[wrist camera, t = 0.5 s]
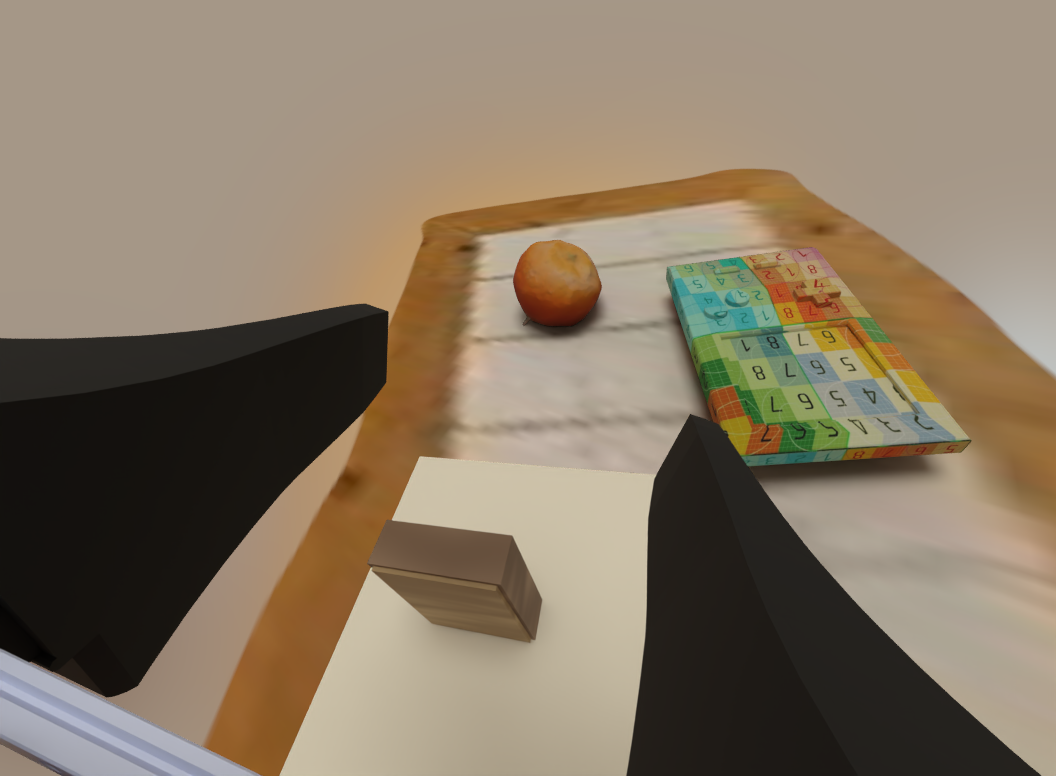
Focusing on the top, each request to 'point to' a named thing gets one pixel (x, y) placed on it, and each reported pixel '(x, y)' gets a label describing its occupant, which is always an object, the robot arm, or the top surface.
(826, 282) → the puzzle game
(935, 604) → the top surface
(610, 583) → the mat
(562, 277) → the fruit
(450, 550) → the walnut tile
